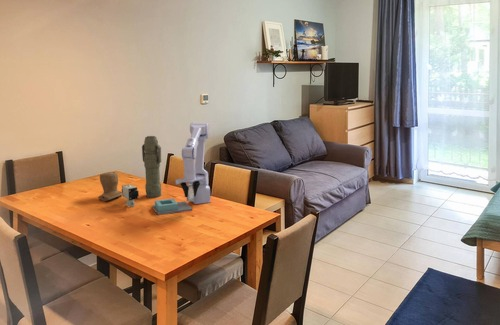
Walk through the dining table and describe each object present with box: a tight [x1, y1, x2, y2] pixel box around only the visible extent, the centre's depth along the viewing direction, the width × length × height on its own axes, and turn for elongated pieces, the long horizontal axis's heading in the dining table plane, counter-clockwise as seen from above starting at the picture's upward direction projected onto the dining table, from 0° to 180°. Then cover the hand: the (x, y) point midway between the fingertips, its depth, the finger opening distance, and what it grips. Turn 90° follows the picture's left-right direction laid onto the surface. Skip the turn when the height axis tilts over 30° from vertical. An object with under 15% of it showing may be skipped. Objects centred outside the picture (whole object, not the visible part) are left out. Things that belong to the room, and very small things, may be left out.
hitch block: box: [151, 198, 193, 216], centre depth 225 cm, size 18×14×4 cm
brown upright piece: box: [97, 171, 123, 202], centre depth 243 cm, size 15×12×15 cm
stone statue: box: [141, 135, 162, 199], centre depth 245 cm, size 9×12×35 cm
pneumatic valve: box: [121, 183, 139, 208], centre depth 230 cm, size 6×12×12 cm, turn 40°
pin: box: [186, 183, 195, 202], centre depth 217 cm, size 4×4×8 cm
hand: (190, 196), depth 218 cm, fingers closed on pin, 4 cm apart
